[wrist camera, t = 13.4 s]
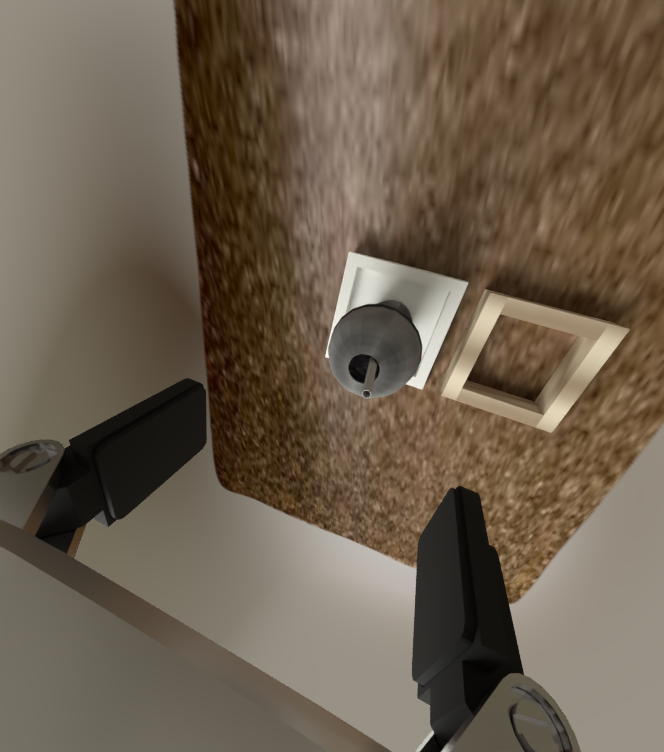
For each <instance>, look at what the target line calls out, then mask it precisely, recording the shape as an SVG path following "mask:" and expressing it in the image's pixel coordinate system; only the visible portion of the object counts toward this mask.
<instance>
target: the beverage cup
mask: <svg viewBox="0 0 664 752" xmlns="http://www.w3.org/2000/svg"><path fill="white" fill-rule="evenodd" d="M328 356H329V364H330V367H331V370H332V372H333V375H334V376H335V377H336V379H337V380H338V381H339V383H340V384H341V385H342V386H343V387H345V388H346V389H347V390H349V391H350V392H352V393H354V394H357V395H359V396H362V397H364V398H365V399H369V398H370V397H371V398H377V397H383V396H388V395H390V394H392V393H394V392H396V391H398V390H400V389H401V388H402V387H403V386H404V385H405V384H406V383H407V382H408V381H409V380H410V379H411V378H412V376H413V375H414V374H415V373H416V370H417V368H418V366H419V364H420V362H421V357H422V342H421V338H420V334H419V331H418V330H417V328H416V327H415V325H414V324H413V321H412V317H411V313H410V311H409V310H408V308H407V307H406V306H405V305H404V304H403V303H402V302H399V301H396V300H386V301H383V302H380V303H377V304H366V305H363V306H359V307H356V308H353V309H352V310H351V311H349V312H348V313H347V314H345V315H344V316H343V317H341V319H340V320H339V322H338V323H337V325H336V326H335V328H334V330H333V333H332V336H331V340H330V343H329V347H328Z"/></svg>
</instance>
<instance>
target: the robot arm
mask: <svg viewBox="0 0 664 752" xmlns="http://www.w3.org/2000/svg"><path fill="white" fill-rule="evenodd" d="M206 440H207V438H206V390H205V389H204V387H203V384H201V383H199V382H196V381H194V380H192V379H189V378H186V379H184V380H182V381H180V382H178V383H176V384H174V385H172V386H170V387H169V388H167V389H165V390H163V391H161V392H159V393H157V394H155V395H153V396H151V397H150V398H148V399H146V400H144V401H142V402H140V403H138V404H136V405H134V406H133V407H131V408H129V409H127V410H125V411H123V412H121V413H119V414H118V415H116V416H114V417H112V418H110V419H108V420H106V421H104V422H102V423H101V424H99V425H97V426H95V427H93V428H91V429H89V430H87V431H85V432H83V433H82V434H80V435H78V436H76V437H74V438H72V439H70V440H69V442H70V446H68V447H67V448H64V446H63V444H61V443H60V442H59V441H55V440H51V439H50V440H49V439H43V440H42V439H40V440H34V441H29V442H25V443H22V444H19V445H16V446H14V447H12V448H9V449H7V450H6V451H4V452H3V453H1V454H0V752H391V751H390V750H388V749H387V748H385V747H384V746H382V745H381V744H379V743H377V742H376V741H374V740H373V739H371V738H370V737H368V736H366V735H365V734H363V733H362V732H360V731H359V730H357V729H355V728H354V727H352V726H351V725H349V724H347V723H346V722H344V721H343V720H341V719H340V718H338V717H336V716H335V715H333V714H332V713H330V712H329V711H327V710H325V709H324V708H322V707H321V706H319V705H317V704H316V703H314V702H312V701H311V700H309V699H307V698H306V697H304V696H302V695H301V694H299V693H298V692H296V691H294V690H292V689H291V688H289V687H288V686H286V685H284V684H282V683H281V682H279V681H278V680H276V679H274V678H273V677H271V676H269V675H268V674H266V673H264V672H263V671H261V670H259V669H258V668H256V667H255V666H253V665H251V664H250V663H248V662H246V661H245V660H243V659H241V658H240V657H238V656H236V655H235V654H233V653H232V652H230V651H228V650H226V649H225V648H223V647H221V646H220V645H218V644H217V643H215V642H213V641H212V640H210V639H208V638H207V637H205V636H203V635H202V634H200V633H198V632H197V631H195V630H193V629H191V628H190V627H188V626H187V625H185V624H183V623H181V622H180V621H178V620H177V619H175V618H173V617H171V616H170V615H168V614H166V613H165V612H163V611H161V610H160V609H158V608H156V607H155V606H153V605H151V604H150V603H148V602H146V601H145V600H143V599H141V598H140V597H138V596H136V595H135V594H133V593H131V592H129V591H128V590H126V589H125V588H123V587H121V586H119V585H118V584H116V583H114V582H113V581H111V580H109V579H108V578H106V577H104V576H103V575H101V574H99V573H97V572H96V571H94V570H92V569H91V568H89V567H87V566H86V565H84V564H82V563H80V562H79V561H77V560H75V559H74V557H75V555H76V552H77V549H78V546H79V544H80V541H81V538H82V535H83V532H84V530H85V527H86V524H87V523H88V522H89V521H90V520H91V519H93V518H94V517H95V519H96V520H97V521H99V522H100V523H102V524H104V525H106V526H108V527H109V526H110V525H111V524H112V523H113V522H115V521H116V520H117V519H122V518H124V517H125V516H126V515H128V513H130V512H131V511H132V510H133V509H134V508H135V507H137V506H138V505H139V504H140V503H141V502H142V501H144V500H145V499H146V498H147V497H148V496H149V495H150V494H151V493H152V492H154V491H155V490H156V489H157V488H158V487H160V486H161V485H162V484H163V483H164V482H165V481H166V480H168V479H169V478H170V477H171V476H172V475H173V474H174V473H175V472H177V471H178V470H179V469H180V468H181V467H182V466H184V464H186V463H187V462H188V461H189V460H190V459H191V458H193V457H194V456H195V455H196V454H197V453H198V452H200V450H202V449H203V447H204V446H205V444H206ZM412 676H413V680H414V681H416V682H418V699H420V700H422V701H424V702H426V703H427V704H429V705H430V725H431V727H432V729H433V730H432V731H431V732H430V734H429V735H428V736H427V737H426V739H425V740H424V741H423V742H422V743H421V745H420V746H419V747H418V748H417V750H416V751H415V752H581V750H580V748H579V745H578V742H577V739H576V736H575V733H574V732H573V730H572V728H571V726H570V724H569V722H568V720H567V718H566V716H565V715H564V713H563V712H562V710H561V709H560V708H559V706H558V704H557V703H556V702H555V700H554V699H553V698H552V697H551V696H550V695H549V694H548V692H546V690H545V689H544V688H543V687H542V686H541V685H539V684H538V683H536V682H535V681H534V680H533V679H531V678H530V677H527V676H524V673H523V668H522V663H521V659H520V654H519V649H518V645H517V640H516V635H515V631H514V626H513V621H512V617H511V612H510V607H509V603H508V598H507V594H506V589H505V584H504V580H503V575H502V570H501V566H500V561H499V557H498V554H497V551H496V550H495V548H494V547H493V546H491V545H489V542H488V537H487V532H486V526H485V521H484V516H483V511H482V506H481V500H480V496H479V494H478V493H476V492H474V491H471V490H469V489H466V488H464V487H461V486H458V487H457V488H456V489H454V488H450V489H449V491H448V492H447V494H446V496H445V497H444V499H443V501H442V502H441V504H440V505H439V507H438V509H437V510H436V512H435V513H434V515H433V517H432V518H431V520H430V521H429V523H428V525H427V526H426V528H425V529H424V531H423V533H422V534H421V536H420V539H419V542H418V554H417V576H416V596H415V618H414V638H413V659H412Z"/></svg>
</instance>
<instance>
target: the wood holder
mask: <svg viewBox="0 0 664 752" xmlns="http://www.w3.org/2000/svg"><path fill="white" fill-rule="evenodd" d="M500 314H502V315H505V316H509V317H513V318H516V319H520V320H524V321H527V322H531V323H535V324H538V325H542V326H546V327H549V328H553V329H556V330H560V331H564V332H567V333H571V334H575V335H578V338H577V339H576V341H575V342H574V344H573V345H572V347H571V348H570V350H569V351H568V353H567V354H566V356H565V357H564V358H563V360H562V361H561V363H560V364H559V366H558V367H557V369H556V370H555V372H554V373H553V375H552V376H551V378H550V379H549V381H548V382H547V384H546V385H545V387H544V388H543V390H542V391H541V393H540V394H539V396H538V397H537V399H536V400H535V401H534V402H533V401H530V400H527V399H524V398H521V397H518V396H515V395H512V394H509V393H506V392H503V391H499V390H496V389H493V388H490V387H487V386H484V385H481V384H478V383H475V382H472V381H468V380H466V379H467V377H468V375H469V373H470V372H471V370H472V368H473V366H474V364H475V362H476V360H477V358H478V356H479V354H480V352H481V350H482V348H483V346H484V344H485V342H486V340H487V338H488V336H489V334H490V332H491V331H492V329H493V327H494V325H495V323H496V321H497V319H498V317H499V315H500ZM629 330H630V329H628V328H626V327H623V326H620V325H618V324H615V323H612V322H610V321H606V320H602V319H598V318H594V317H590V316H587V315H583V314H579V313H575V312H571V311H567V310H564V309H560V308H556V307H552V306H548V305H544V304H541V303H537V302H533V301H529V300H525V299H521V298H518V297H514V296H510V295H506V294H502V293H498V292H495V291H491V290H487V289H485V290H484V292H483V294H482V296H481V298H480V301H479V303H478V305H477V307H476V309H475V311H474V313H473V316H472V318H471V320H470V322H469V324H468V326H467V328H466V331H465V333H464V335H463V337H462V339H461V341H460V343H459V346H458V348H457V350H456V352H455V354H454V356H453V359H452V361H451V363H450V365H449V367H448V369H447V371H446V374H445V376H444V378H443V380H442V382H441V384H440V385H441V396H444V397H447V398H450V399H453V400H456V401H459V402H462V403H465V404H468V405H471V406H474V407H477V408H480V409H483V410H486V411H489V412H492V413H495V414H498V415H500V416H503V417H506V418H509V419H512V420H515V421H518V422H521V423H524V424H527V425H530V426H533V427H536V428H539V429H542V430H545V431H548V432H551V433H552V432H553V430H554V429H555V428H556V426H557V425H558V424H559V422H560V421H561V420H562V418H563V417H564V416H565V414H566V413H567V412H568V411H569V409H570V408H571V407H572V405H573V404H574V403H575V401H576V400H577V399H578V397H579V396H580V395H581V393H582V392H583V391H584V389H585V388H586V387H587V385H588V384H589V383H590V381H591V380H592V379H593V378H594V376H595V375H596V374H597V372H598V371H599V370H600V368H601V367H602V366H603V364H604V363H605V362H606V360H607V359H608V358H609V356H610V355H611V354H612V352H613V351H614V350H615V349H616V347H617V346H618V345H619V343H620V342H621V341H622V339H623V338H624V337H625V335H626V334H627V333H628V331H629Z"/></svg>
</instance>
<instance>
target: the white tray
mask: <svg viewBox="0 0 664 752" xmlns="http://www.w3.org/2000/svg"><path fill="white" fill-rule="evenodd" d="M467 285H468V282H467V281H465V280H461V279H457V278H453V277H450V276H446V275H442V274H438V273H434V272H430V271H426V270H423V269H419V268H415V267H411V266H407V265H403V264H399V263H396V262H392V261H388V260H384V259H380V258H376V257H372V256H369V255H365V254H361V253H357V252H349V254H348V259H347V263H346V268H345V272H344V276H343V281H342V285H341V290H340V294H339V298H338V303H337V307H336V312H335V316H334V321H333V325H332V329H331V334H330V338H329V343H330V340H331V336H332V333H333V330H334V328H335V326H336V325H337V323H338V322H339V320H340V319H341V317H343V316H344V315H345V314H347V313H348V312H349V311H351V310H352V309H353V308H356V307H359V306H363V305H366V304H377V303H380V302H383V301H386V300H396V301H399V302H402V303H403V304H404V305H405V306H406V307H407V308H408V310H409V311H410V313H411V317H412V321H413V324H414V325H415V327H416V328H417V330H418V331H419V334H420V338H421V342H422V357H421V362H420V364H419V366H418V368H417V370H416V373H415V374H414V375H413V376H412V378H411V379H410V380H409V381H408V382H407V383H406V384H407V385H410V386H413V387H416V388H419V389H423V387H424V384H425V382H426V380H427V377H428V375H429V373H430V370H431V368H432V366H433V364H434V361H435V359H436V357H437V354H438V352H439V350H440V347H441V345H442V343H443V340H444V338H445V336H446V334H447V331H448V329H449V327H450V324H451V322H452V320H453V317H454V315H455V313H456V311H457V308H458V306H459V304H460V301H461V299H462V297H463V294H464V292H465V290H466V288H467ZM329 343H328V347H329ZM328 347H327V352H326V356H325V357H327V358H329V356H328Z"/></svg>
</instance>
